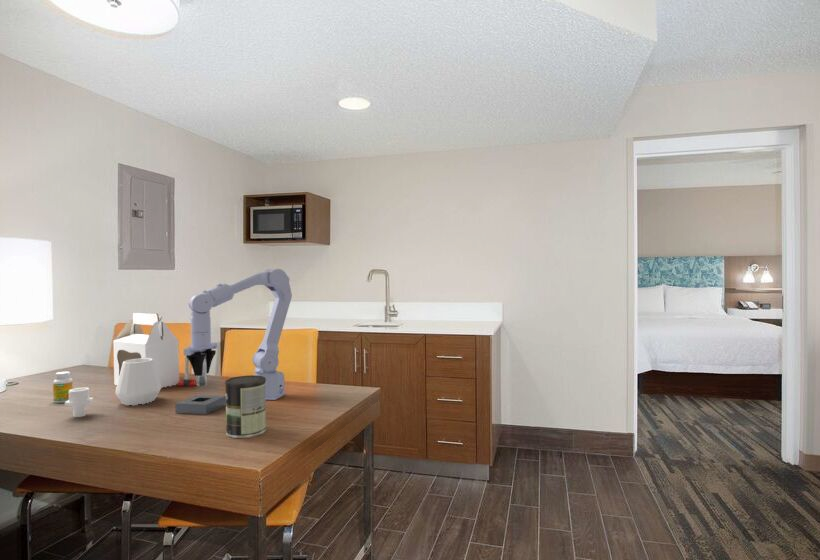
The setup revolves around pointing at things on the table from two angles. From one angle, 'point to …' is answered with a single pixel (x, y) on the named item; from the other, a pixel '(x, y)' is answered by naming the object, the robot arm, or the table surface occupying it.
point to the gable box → (148, 347)
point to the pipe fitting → (79, 401)
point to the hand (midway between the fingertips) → (201, 374)
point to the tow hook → (187, 376)
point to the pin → (203, 374)
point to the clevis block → (200, 404)
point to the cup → (138, 382)
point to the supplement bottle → (62, 387)
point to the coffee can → (245, 406)
